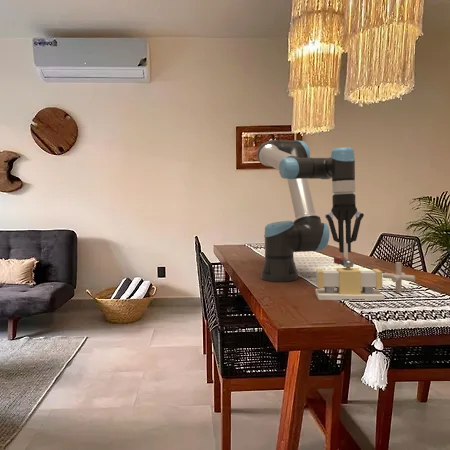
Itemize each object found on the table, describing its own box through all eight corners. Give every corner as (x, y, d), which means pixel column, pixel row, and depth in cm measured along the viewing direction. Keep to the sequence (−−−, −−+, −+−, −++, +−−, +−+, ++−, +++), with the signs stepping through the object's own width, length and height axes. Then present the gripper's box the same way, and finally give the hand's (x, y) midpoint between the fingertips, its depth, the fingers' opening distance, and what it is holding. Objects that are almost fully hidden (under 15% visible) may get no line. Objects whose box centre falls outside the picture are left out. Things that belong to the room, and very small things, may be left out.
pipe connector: (387, 287, 135) (387, 259, 135) (418, 290, 129) (418, 261, 128) (378, 292, 128) (378, 263, 127) (410, 296, 121) (410, 265, 121)
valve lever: (333, 262, 132) (333, 256, 132) (341, 262, 132) (341, 256, 132) (345, 268, 121) (345, 261, 121) (354, 267, 121) (354, 260, 121)
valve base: (315, 293, 129) (315, 265, 128) (376, 293, 126) (376, 265, 125) (318, 299, 120) (318, 269, 119) (384, 300, 117) (384, 270, 117)
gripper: (359, 193, 132) (361, 259, 134) (322, 194, 133) (324, 260, 135) (366, 192, 125) (367, 263, 126) (326, 194, 126) (328, 264, 127)
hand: (345, 261), depth 130 cm, fingers closed
